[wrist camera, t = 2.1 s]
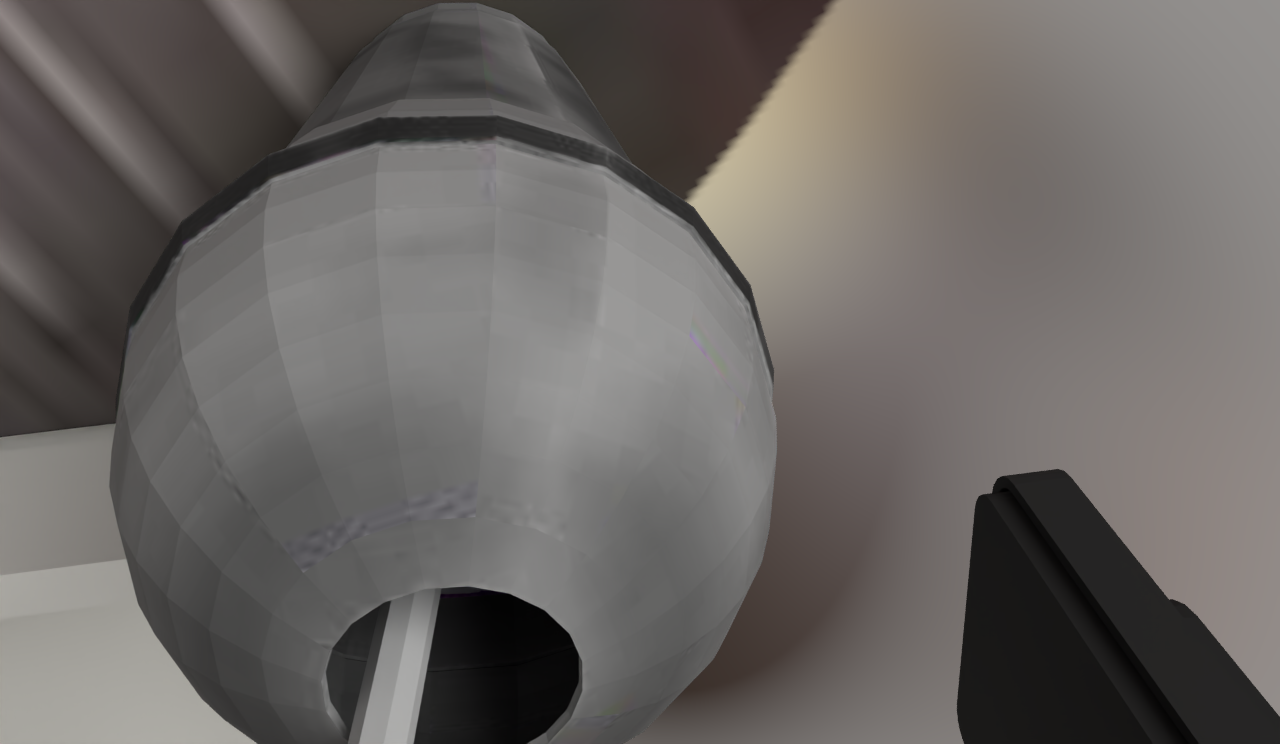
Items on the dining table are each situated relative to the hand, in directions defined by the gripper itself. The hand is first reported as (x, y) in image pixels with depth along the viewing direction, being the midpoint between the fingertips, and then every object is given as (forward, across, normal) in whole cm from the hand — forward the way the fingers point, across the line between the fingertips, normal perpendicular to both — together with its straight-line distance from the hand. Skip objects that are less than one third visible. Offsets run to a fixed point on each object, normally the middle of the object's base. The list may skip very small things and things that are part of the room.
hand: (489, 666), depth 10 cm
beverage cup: (+15, 0, -1) cm, 15 cm away
